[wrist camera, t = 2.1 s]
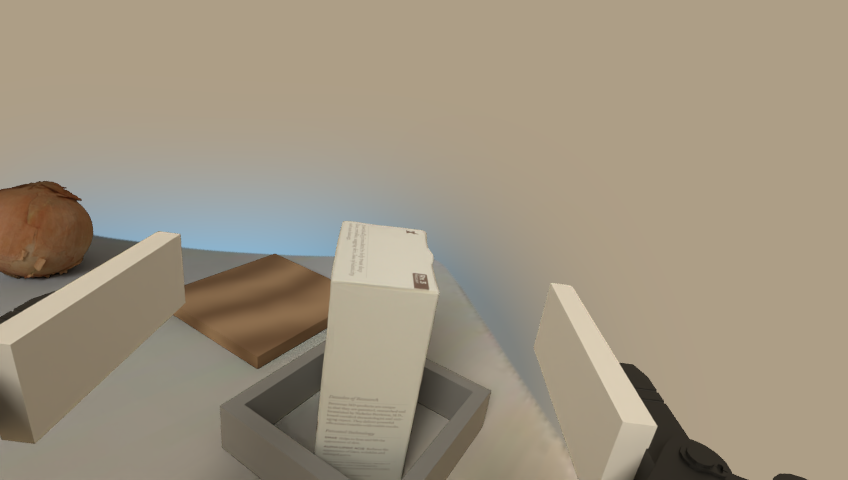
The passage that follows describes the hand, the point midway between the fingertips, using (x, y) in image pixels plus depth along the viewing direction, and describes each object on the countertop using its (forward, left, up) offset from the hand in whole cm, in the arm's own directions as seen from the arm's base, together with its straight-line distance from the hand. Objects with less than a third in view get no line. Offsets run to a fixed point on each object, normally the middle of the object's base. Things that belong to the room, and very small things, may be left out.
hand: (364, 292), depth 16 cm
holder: (-5, +9, -17) cm, 20 cm away
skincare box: (-5, +9, -17) cm, 20 cm away
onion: (-44, +5, -18) cm, 48 cm away
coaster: (-23, +16, -17) cm, 33 cm away
